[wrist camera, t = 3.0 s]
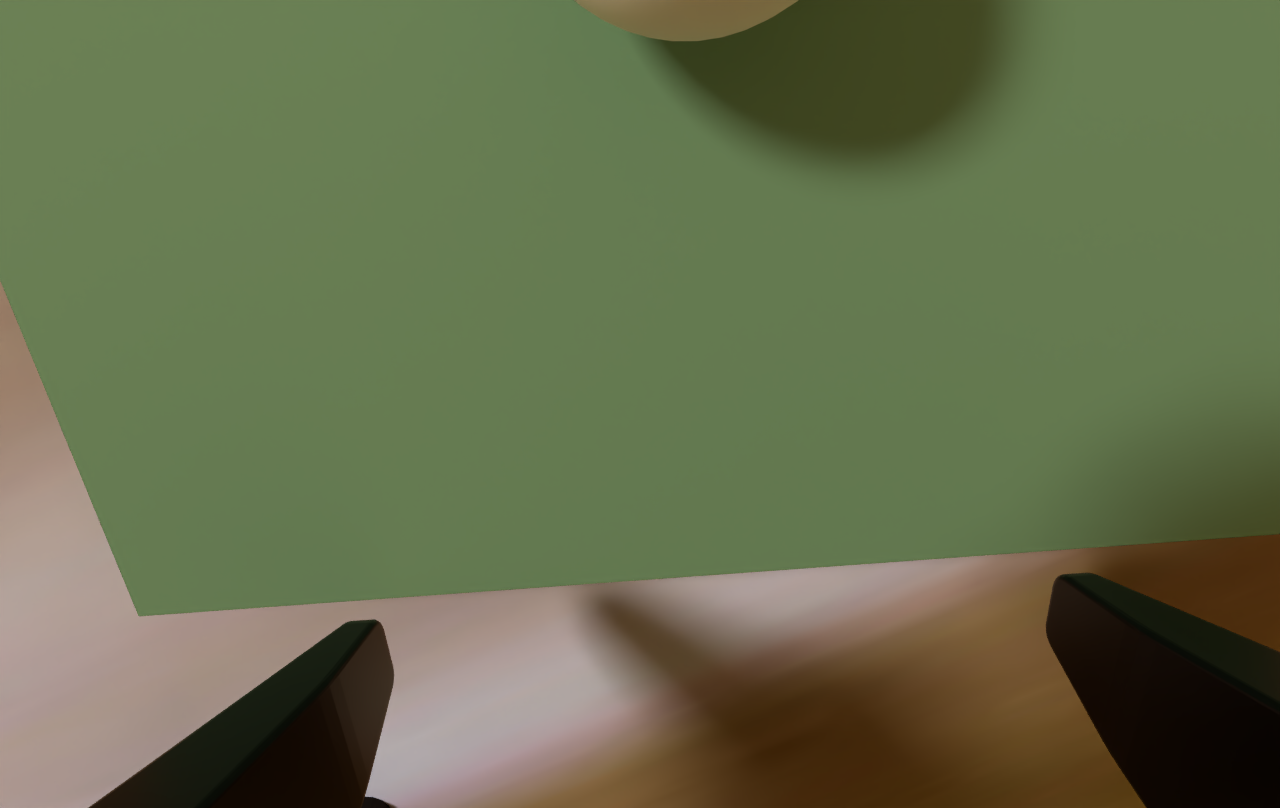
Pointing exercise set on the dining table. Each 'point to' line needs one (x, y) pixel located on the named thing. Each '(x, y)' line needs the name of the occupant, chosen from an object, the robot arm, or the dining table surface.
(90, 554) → the dining table surface
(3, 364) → the dining table surface
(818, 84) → the putting mat
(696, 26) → the ball
